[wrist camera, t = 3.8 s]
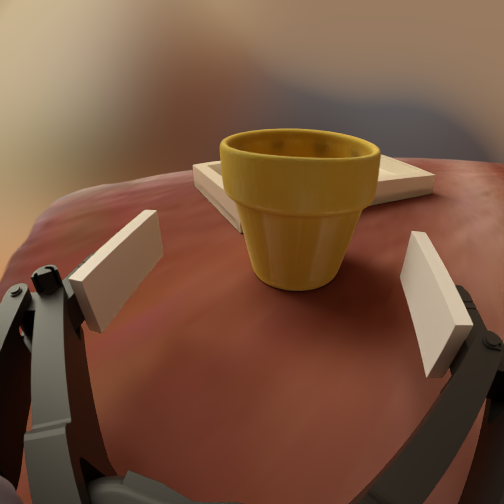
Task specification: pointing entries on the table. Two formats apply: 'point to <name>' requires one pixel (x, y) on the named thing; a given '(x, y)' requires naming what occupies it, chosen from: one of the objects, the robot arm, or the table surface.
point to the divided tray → (388, 189)
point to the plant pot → (298, 199)
